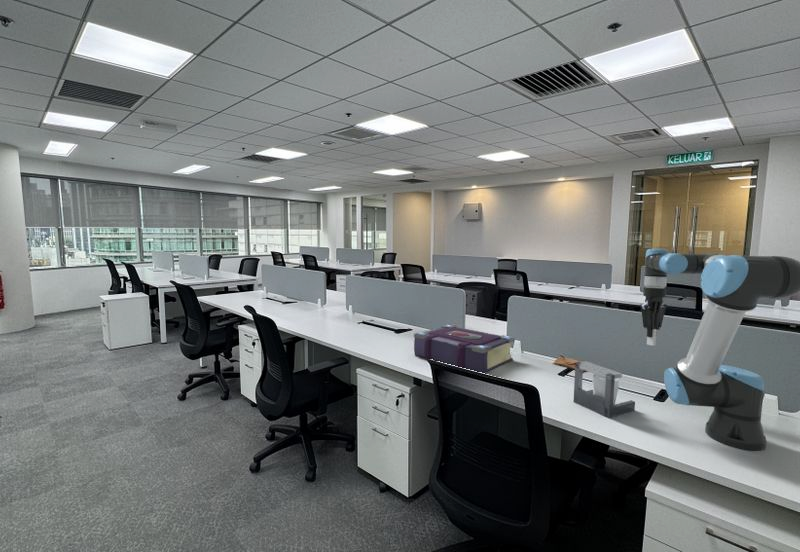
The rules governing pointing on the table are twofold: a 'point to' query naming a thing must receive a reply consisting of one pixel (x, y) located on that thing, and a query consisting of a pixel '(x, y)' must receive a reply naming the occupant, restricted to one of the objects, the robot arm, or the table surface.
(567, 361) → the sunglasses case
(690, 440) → the table surface
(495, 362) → the book
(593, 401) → the grey plastic frame
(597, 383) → the cup
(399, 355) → the table surface
